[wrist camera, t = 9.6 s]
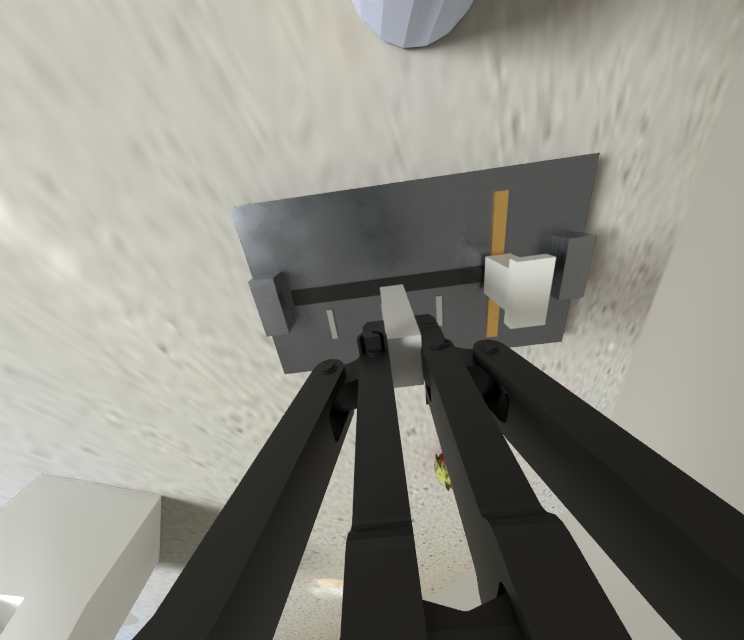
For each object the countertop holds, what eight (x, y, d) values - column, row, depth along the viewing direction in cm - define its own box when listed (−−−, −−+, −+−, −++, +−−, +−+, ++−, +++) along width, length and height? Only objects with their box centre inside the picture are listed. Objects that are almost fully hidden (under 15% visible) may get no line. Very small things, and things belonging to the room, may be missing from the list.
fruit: (466, 466, 37) (480, 504, 32) (425, 461, 36) (433, 499, 32) (477, 445, 35) (493, 482, 31) (434, 440, 35) (443, 476, 30)
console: (240, 206, 22) (215, 208, 19) (579, 156, 21) (623, 148, 18) (289, 362, 29) (278, 386, 26) (549, 331, 28) (576, 352, 24)
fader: (483, 247, 22) (517, 262, 17) (513, 243, 22) (556, 257, 17) (480, 301, 24) (510, 329, 19) (508, 298, 24) (544, 324, 19)
